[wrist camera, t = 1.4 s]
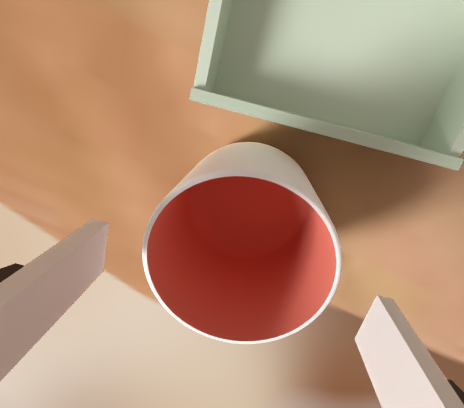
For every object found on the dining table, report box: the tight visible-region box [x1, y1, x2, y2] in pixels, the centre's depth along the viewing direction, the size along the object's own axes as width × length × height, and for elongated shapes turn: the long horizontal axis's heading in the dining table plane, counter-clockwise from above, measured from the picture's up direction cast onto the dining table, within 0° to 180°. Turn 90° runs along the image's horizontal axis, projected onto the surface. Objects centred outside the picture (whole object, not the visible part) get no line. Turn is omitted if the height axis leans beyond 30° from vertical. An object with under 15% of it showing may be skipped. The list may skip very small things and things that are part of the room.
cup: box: [142, 142, 342, 344], centre depth 19 cm, size 10×10×10 cm
